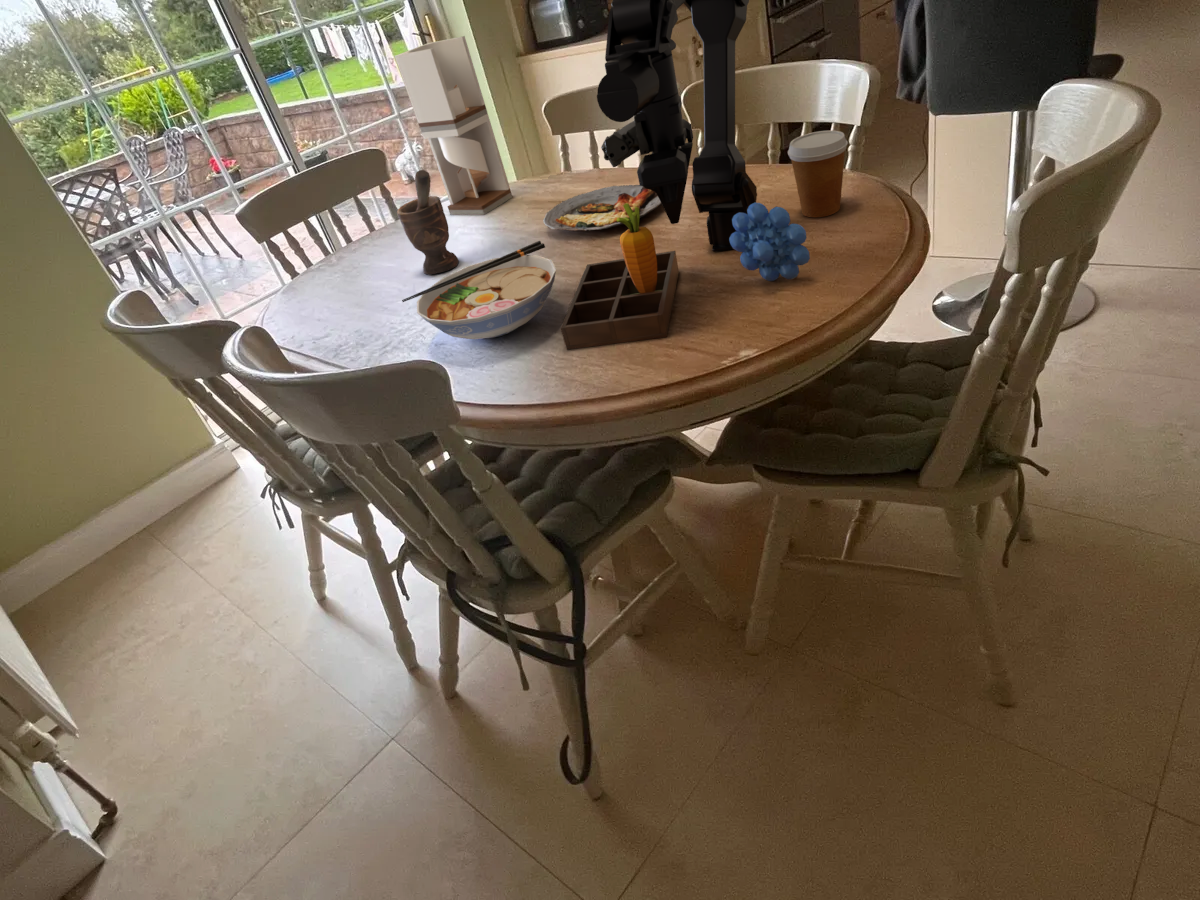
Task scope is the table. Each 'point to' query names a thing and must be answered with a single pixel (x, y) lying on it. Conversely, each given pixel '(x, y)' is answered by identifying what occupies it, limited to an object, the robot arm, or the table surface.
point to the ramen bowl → (489, 295)
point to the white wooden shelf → (455, 124)
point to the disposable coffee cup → (819, 171)
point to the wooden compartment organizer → (619, 305)
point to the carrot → (639, 252)
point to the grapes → (769, 242)
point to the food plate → (601, 208)
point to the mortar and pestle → (427, 227)
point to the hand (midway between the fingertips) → (677, 211)
